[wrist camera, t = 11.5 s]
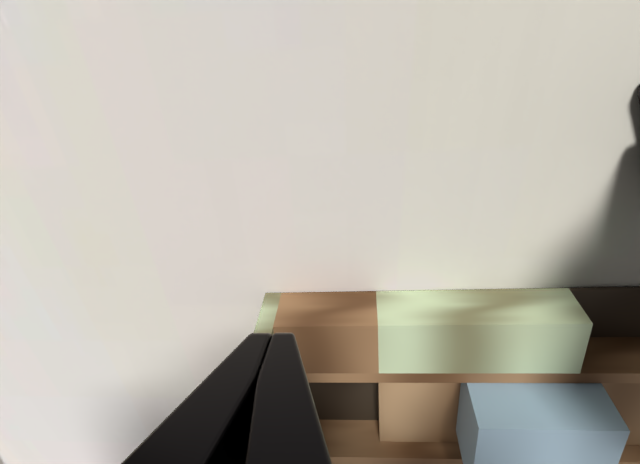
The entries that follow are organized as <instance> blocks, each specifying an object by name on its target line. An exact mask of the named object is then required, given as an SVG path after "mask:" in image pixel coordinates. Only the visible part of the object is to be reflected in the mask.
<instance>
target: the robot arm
mask: <svg viewBox="0 0 640 464" xmlns="http://www.w3.org/2000/svg"><path fill="white" fill-rule="evenodd" d="M638 98H639V103H640V87H639V89H638ZM121 464H332V462H331V459H330V455H329V452H328V448H327V445H326V441H325V438H324V435H323V431H322V428H321V424H320V421H319V417H318V414H317V410H316V407H315V403H314V400H313V397H312V393H311V390H310V386H309V383H308V379H307V376H306V372H305V369H304V366H303V362H302V359H301V355H300V352H299V348H298V345H297V341H296V338H295V335H294V334H293V333H275V334H273V335H272V334H270V333H252V334H250V335H249V336H248V337H247V338H246V339H245V340H244V341H243V342H242V343H241V344H240V345H239V346H238V347H237V348H236V349H235V350H234V351H233V352H232V353H231V354H230V355H229V356H228V357H227V358H226V359H225V360H224V361H223V362H222V363H221V364H220V365H219V366H218V367H217V368H216V369H215V370H214V371H213V372H212V373H211V374H210V375H209V376H208V377H207V378H206V379H205V380H204V381H203V382H202V383H201V384H200V385H199V386H198V387H197V388H196V389H195V390H194V391H193V392H192V393H191V394H190V395H189V396H188V397H187V398H186V399H185V400H184V401H183V402H182V403H181V404H180V405H179V406H178V407H177V408H176V409H175V410H174V411H173V412H172V413H171V414H170V415H169V416H168V417H167V418H166V419H165V420H164V421H163V422H162V423H161V424H160V425H159V426H158V427H157V428H156V429H155V430H154V431H153V432H152V433H151V434H150V435H149V436H148V437H147V438H146V439H145V440H144V441H143V442H142V443H141V444H140V445H139V446H138V447H137V448H136V449H135V450H134V451H133V452H132V453H131V454H130V455H129V456H128V457H127V458H126V459H125V460H124V461H123V462H122V463H121Z"/></svg>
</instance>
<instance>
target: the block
mask: <svg viewBox="0 0 640 464" xmlns="http://www.w3.org/2000/svg"><path fill="white" fill-rule="evenodd" d="M456 434H457V438H458V443H459V448H460V452H461V457H462V461H463V464H618V463H619V460H620V458H621V455H622V452H623V450H624V447H625V444H626V442H627V439H628V436H629V434H630V430H629V428H628V427H627V425H626V423H625V422H624V420H623V418H622V417H621V415H620V413H619V412H618V410H617V408H616V407H615V405H614V403H613V402H612V400H611V398H610V397H609V395H608V393H607V392H606V390H605V388H604V387H603V385H602V384H601V383H461V387H460V396H459V405H458V414H457V423H456Z"/></svg>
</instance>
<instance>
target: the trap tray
mask: <svg viewBox="0 0 640 464" xmlns="http://www.w3.org/2000/svg"><path fill="white" fill-rule="evenodd" d="M254 333H270V334H272V335H273V334H275V333H293V334H294V335H295V338H296V341H297V345H298V348H299V352H300V355H301V359H302V362H303V366H304V369H305V372H306V376H307V379H308V383H309V386H310V390H311V393H312V397H313V400H314V403H315V407H316V410H317V414H318V417H319V421H320V424H321V428H322V431H323V435H324V438H325V441H326V445H327V448H328V452H329V455H330V459H331V462H332V464H463V461H462V457H461V452H460V448H459V443H458V438H457V434H456V423H457V414H458V405H459V396H460V387H461V383H601V384H602V385H603V387H604V388H605V390H606V392H607V393H608V395H609V397H610V398H611V400H612V402H613V403H614V405H615V407H616V408H617V410H618V412H619V413H620V415H621V417H622V418H623V420H624V422H625V423H626V425H627V427H628V428H629V430H630V434H629V436H628V439H627V442H626V444H625V447H624V450H623V452H622V455H621V458H620V460H619V463H618V464H640V287H591V288H533V289H475V290H418V291H360V292H302V293H266V294H265V297H264V300H263V304H262V307H261V310H260V314H259V317H258V321H257V324H256V327H255V331H254Z"/></svg>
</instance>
